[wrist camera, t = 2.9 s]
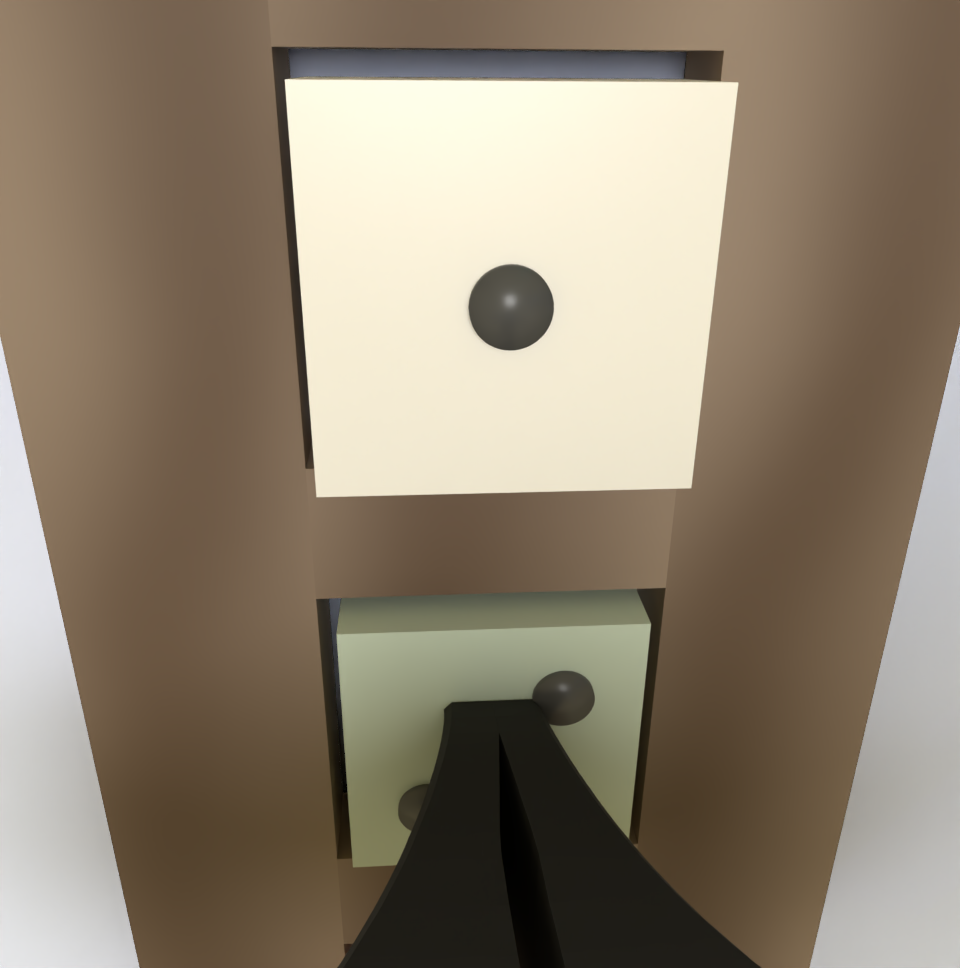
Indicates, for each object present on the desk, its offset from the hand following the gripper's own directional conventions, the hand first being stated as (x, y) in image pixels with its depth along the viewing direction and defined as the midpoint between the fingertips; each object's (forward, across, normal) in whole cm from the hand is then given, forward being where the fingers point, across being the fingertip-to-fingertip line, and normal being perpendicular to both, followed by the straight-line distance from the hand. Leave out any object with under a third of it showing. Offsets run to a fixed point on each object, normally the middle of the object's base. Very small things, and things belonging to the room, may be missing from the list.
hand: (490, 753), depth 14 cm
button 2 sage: (+3, 0, 0) cm, 3 cm away
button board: (+2, 0, 0) cm, 2 cm away
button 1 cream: (+1, 0, -7) cm, 7 cm away
